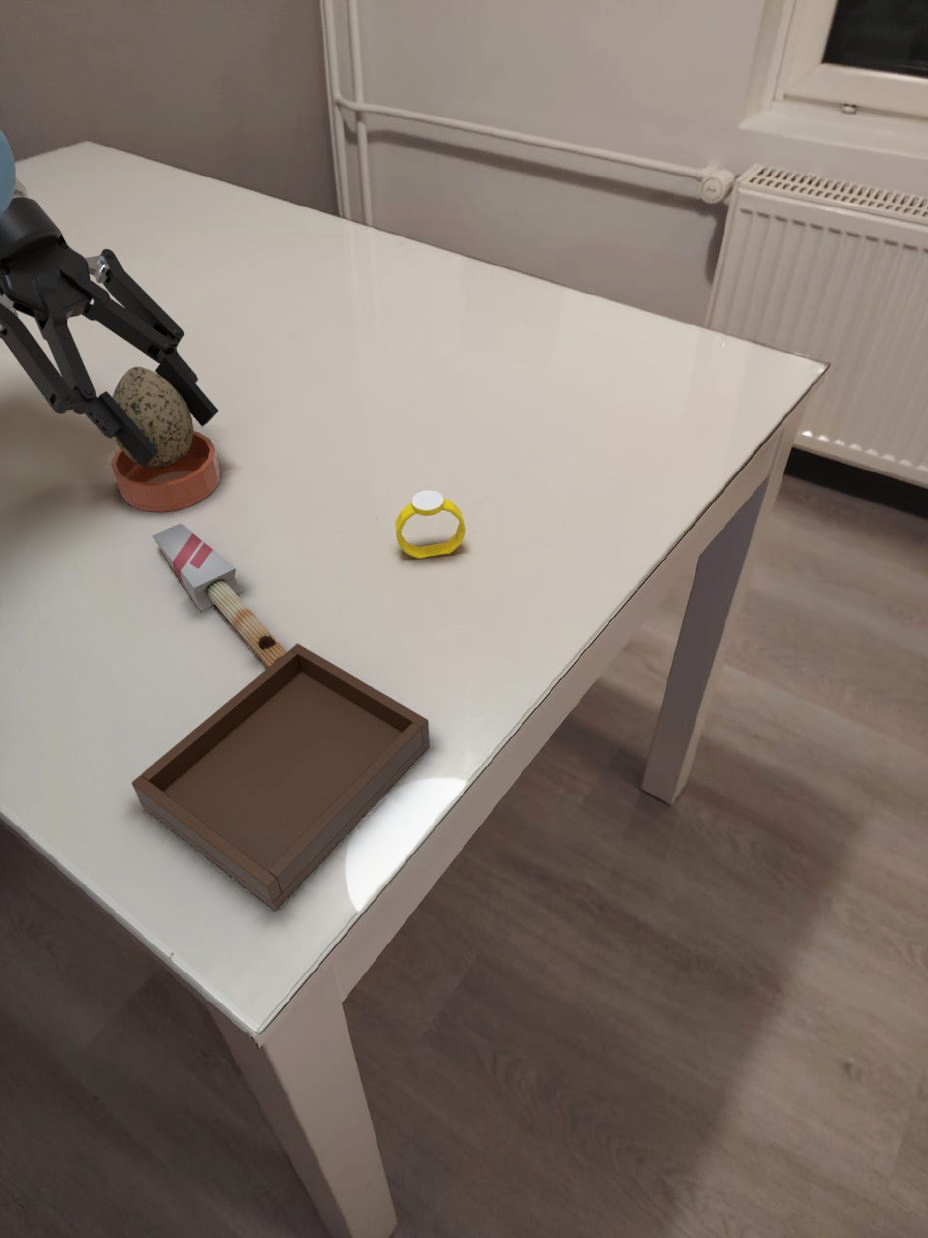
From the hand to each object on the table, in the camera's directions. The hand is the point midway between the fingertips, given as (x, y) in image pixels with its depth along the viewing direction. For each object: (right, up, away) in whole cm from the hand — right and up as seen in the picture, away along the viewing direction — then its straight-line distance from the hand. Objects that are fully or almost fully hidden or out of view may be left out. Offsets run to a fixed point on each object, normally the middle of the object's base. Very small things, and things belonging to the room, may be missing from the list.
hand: (181, 438), depth 80 cm
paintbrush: (+6, -15, -6) cm, 18 cm away
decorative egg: (-3, -2, +4) cm, 5 cm away
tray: (+14, -28, -19) cm, 36 cm away
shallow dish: (-3, -3, +6) cm, 7 cm away
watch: (+23, -11, -2) cm, 26 cm away
